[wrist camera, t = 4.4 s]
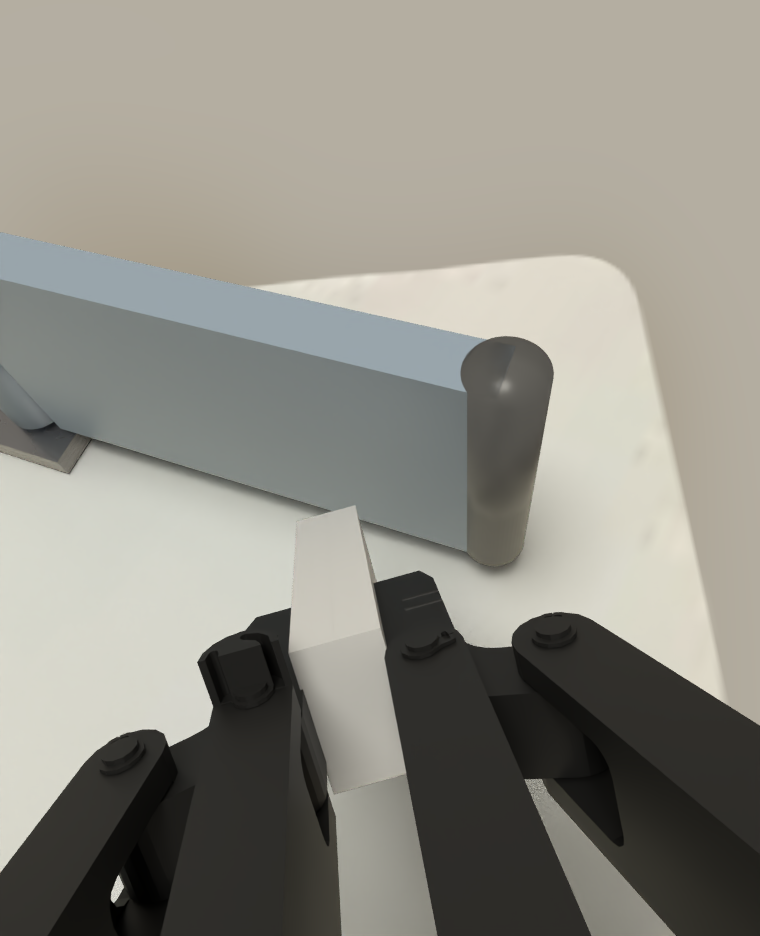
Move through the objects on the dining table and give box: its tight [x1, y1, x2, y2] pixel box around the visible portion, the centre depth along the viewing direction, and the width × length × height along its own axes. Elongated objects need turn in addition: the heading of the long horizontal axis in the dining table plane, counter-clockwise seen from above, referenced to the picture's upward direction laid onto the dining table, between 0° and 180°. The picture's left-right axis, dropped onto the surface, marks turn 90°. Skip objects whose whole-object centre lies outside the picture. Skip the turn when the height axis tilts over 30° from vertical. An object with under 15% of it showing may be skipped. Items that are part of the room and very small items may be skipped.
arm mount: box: [0, 410, 91, 474], centre depth 29 cm, size 4×4×1 cm
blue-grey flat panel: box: [0, 232, 554, 566], centre depth 22 cm, size 21×2×9 cm, turn 69°
